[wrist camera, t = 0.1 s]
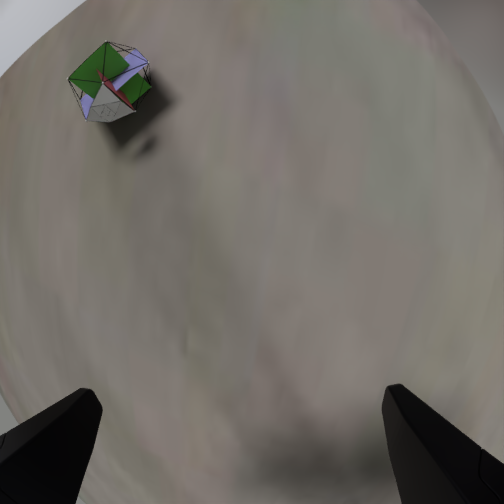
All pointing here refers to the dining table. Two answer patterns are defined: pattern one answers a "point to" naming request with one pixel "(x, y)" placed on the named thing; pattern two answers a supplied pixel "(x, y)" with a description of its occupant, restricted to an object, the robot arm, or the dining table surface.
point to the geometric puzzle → (110, 83)
